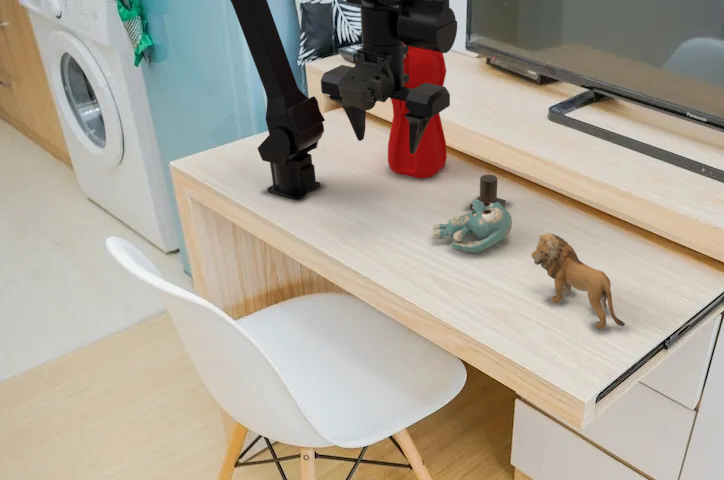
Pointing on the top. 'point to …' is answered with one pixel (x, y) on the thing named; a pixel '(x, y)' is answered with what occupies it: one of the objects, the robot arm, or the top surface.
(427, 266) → the top surface
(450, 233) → the stuffed animal
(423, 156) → the water bottle
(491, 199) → the peg
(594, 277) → the lion figurine
